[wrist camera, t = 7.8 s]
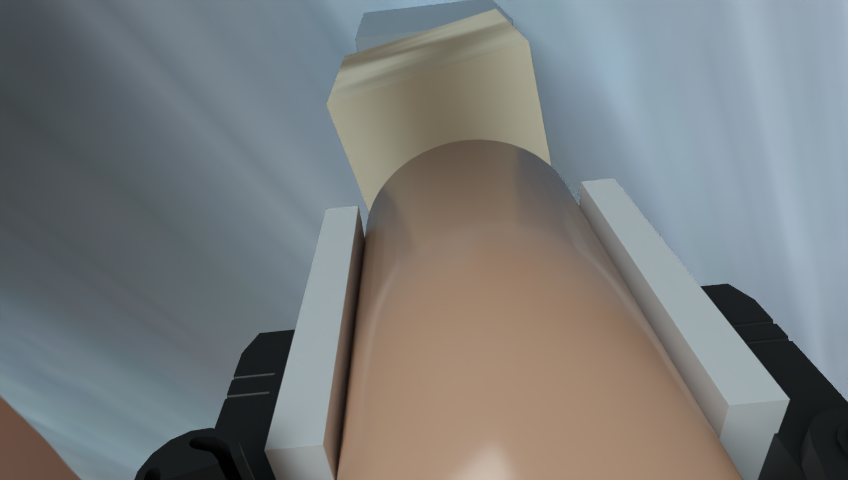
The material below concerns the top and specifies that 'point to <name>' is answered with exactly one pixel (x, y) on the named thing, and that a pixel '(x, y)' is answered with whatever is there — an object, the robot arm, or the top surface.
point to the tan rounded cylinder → (506, 338)
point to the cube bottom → (416, 21)
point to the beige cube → (436, 96)
